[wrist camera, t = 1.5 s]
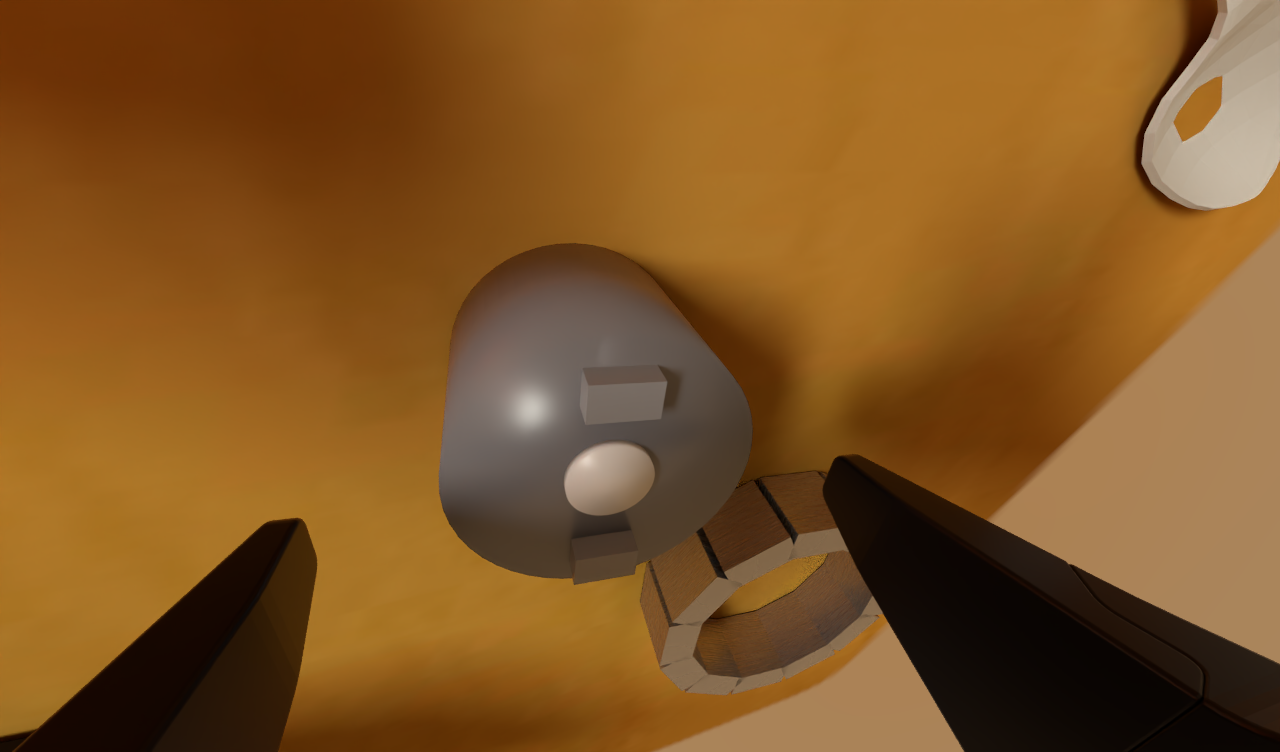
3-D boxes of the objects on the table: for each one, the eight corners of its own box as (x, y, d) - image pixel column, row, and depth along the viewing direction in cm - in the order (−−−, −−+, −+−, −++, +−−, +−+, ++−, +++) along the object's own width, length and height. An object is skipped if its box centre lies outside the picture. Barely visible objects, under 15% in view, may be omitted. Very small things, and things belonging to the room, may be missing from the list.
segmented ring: (630, 653, 21) (646, 717, 19) (661, 489, 16) (688, 552, 14) (820, 611, 24) (852, 662, 22) (897, 460, 19) (948, 509, 17)
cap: (459, 448, 13) (452, 624, 9) (439, 238, 10) (414, 357, 6) (658, 431, 15) (729, 573, 11) (690, 246, 12) (803, 344, 8)
